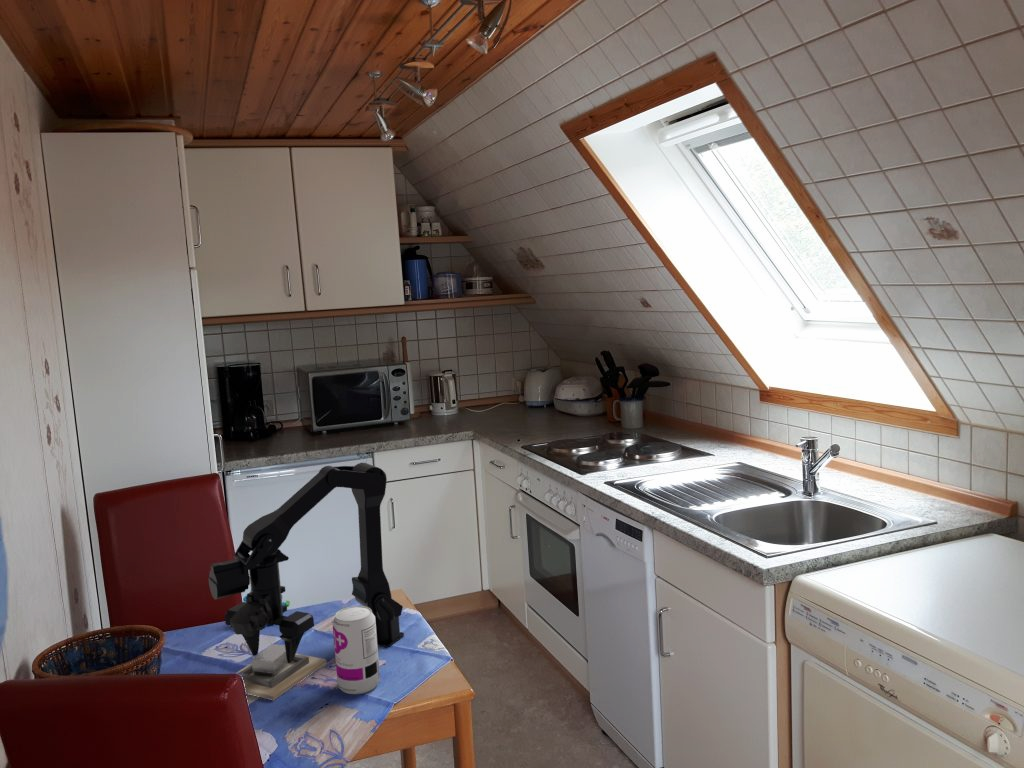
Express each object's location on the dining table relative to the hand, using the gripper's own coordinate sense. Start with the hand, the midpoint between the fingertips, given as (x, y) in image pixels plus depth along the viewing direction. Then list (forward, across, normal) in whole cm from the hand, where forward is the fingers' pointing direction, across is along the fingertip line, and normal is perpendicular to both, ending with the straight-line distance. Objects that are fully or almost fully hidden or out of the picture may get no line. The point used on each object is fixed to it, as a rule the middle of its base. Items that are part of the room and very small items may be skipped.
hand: (272, 658), depth 169 cm
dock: (+4, 0, 0) cm, 4 cm away
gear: (+4, -21, +21) cm, 29 cm away
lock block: (+3, 0, 0) cm, 3 cm away
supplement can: (+4, +19, +3) cm, 20 cm away
